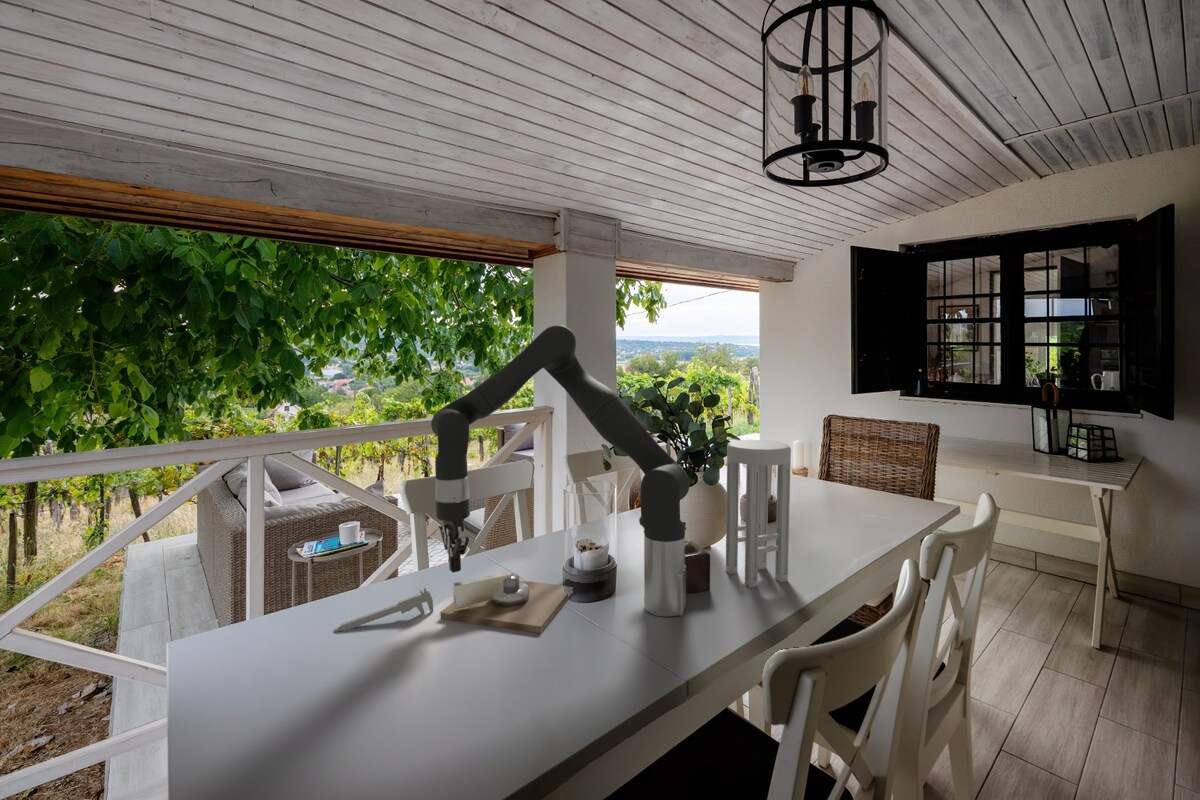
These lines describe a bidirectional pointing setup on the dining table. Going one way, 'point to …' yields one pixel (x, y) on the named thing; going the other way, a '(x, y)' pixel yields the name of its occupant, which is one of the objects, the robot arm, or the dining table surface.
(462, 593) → the beige bar and knob
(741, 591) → the dining table surface
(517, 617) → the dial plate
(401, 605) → the caliper
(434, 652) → the dining table surface
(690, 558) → the dark brown wooden box
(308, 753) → the dining table surface
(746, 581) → the stool
